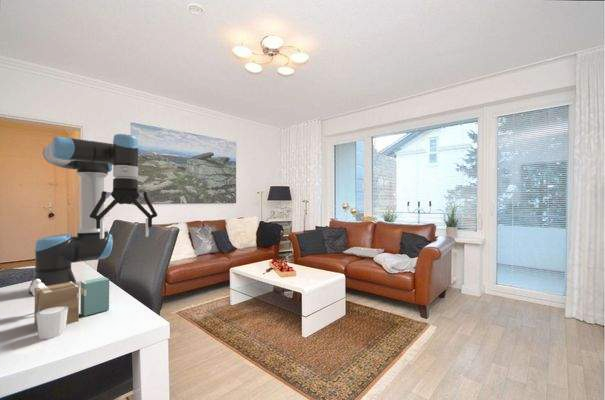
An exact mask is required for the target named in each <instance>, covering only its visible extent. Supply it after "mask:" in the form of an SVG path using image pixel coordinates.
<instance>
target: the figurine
mask: <svg viewBox="0 0 605 400" xmlns="http://www.w3.org/2000/svg"><path fill="white" fill-rule="evenodd" d="M42 286H45V284H44V283H42V282H41V280H40V279H35V280H34V281H33V283H32V285H31V286H30V285H29V287H30V291H31V292H32V293H33V295H32V296H33V297H34V298H35V288H38V287H42ZM33 312H34V313H33V314H34V315H33V316H34V317H35V311H33Z"/></svg>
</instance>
